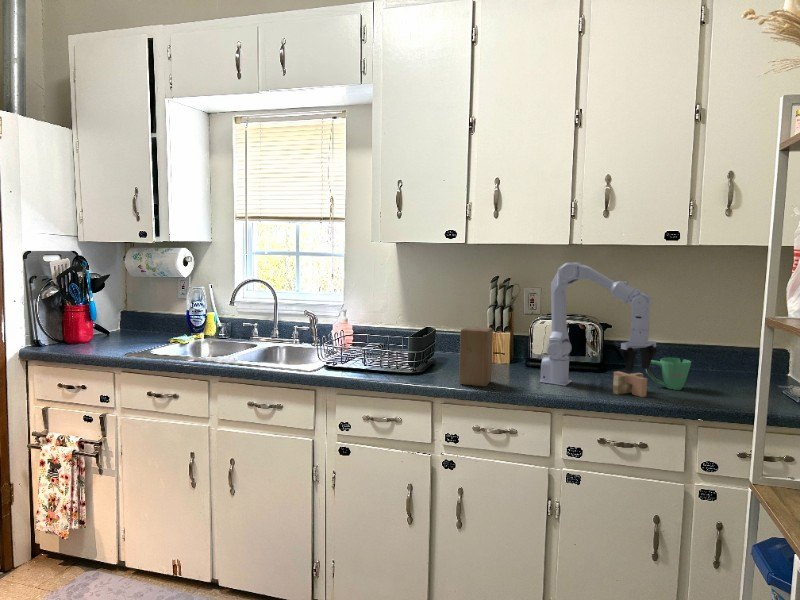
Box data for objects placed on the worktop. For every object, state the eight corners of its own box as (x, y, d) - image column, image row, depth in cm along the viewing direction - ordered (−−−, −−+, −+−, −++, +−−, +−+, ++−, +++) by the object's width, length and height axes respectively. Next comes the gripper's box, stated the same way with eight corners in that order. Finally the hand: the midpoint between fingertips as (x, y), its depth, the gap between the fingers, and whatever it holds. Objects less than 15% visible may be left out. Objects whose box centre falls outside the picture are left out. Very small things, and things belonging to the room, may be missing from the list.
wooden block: (458, 384, 200) (459, 329, 198) (465, 378, 210) (466, 325, 208) (486, 387, 197) (487, 330, 195) (491, 381, 206) (493, 327, 204)
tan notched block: (617, 394, 190) (618, 376, 190) (613, 393, 192) (613, 375, 191) (642, 390, 196) (643, 373, 195) (637, 389, 197) (638, 372, 197)
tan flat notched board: (646, 396, 188) (647, 378, 188) (641, 397, 187) (642, 379, 187) (617, 388, 199) (618, 371, 199) (612, 388, 198) (613, 371, 197)
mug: (686, 386, 203) (688, 358, 202) (691, 392, 194) (693, 364, 193) (642, 382, 208) (644, 355, 207) (645, 388, 198) (647, 360, 197)
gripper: (634, 332, 182) (631, 373, 183) (664, 329, 188) (662, 369, 190) (616, 329, 188) (614, 369, 189) (647, 326, 195) (644, 365, 196)
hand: (637, 369), depth 190 cm, fingers open, 7 cm apart
